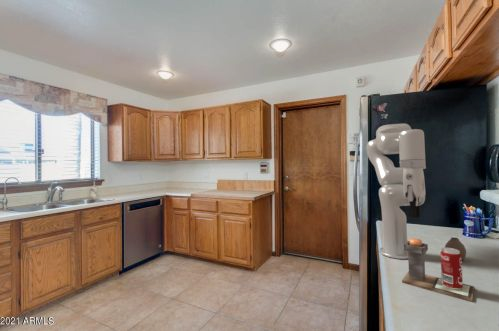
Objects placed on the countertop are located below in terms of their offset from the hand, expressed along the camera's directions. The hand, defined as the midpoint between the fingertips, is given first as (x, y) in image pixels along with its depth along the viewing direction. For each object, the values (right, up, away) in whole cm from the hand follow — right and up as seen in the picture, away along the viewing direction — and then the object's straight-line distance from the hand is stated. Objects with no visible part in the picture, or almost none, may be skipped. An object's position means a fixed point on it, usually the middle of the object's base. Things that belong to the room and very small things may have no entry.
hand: (414, 216), depth 85 cm
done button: (0, -10, 0) cm, 10 cm away
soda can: (+8, -22, -6) cm, 24 cm away
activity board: (+5, -22, -4) cm, 23 cm away
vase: (+29, -22, +17) cm, 40 cm away
